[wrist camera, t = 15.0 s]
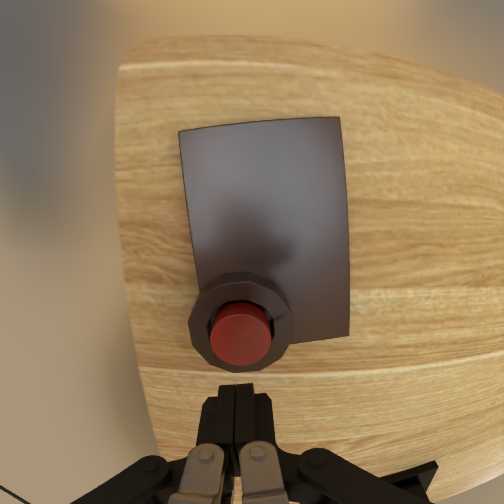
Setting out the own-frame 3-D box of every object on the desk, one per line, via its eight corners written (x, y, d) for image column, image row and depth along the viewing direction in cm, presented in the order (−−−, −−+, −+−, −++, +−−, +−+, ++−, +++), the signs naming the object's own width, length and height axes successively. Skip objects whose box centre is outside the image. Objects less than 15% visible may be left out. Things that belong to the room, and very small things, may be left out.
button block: (202, 356, 23) (199, 375, 21) (168, 134, 19) (158, 130, 17) (346, 340, 23) (356, 357, 21) (337, 118, 19) (348, 112, 17)
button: (217, 353, 21) (215, 368, 19) (208, 304, 20) (205, 316, 18) (271, 348, 21) (273, 363, 19) (266, 299, 20) (268, 311, 18)
